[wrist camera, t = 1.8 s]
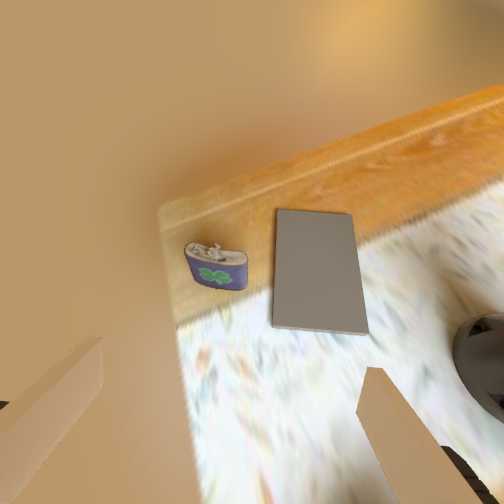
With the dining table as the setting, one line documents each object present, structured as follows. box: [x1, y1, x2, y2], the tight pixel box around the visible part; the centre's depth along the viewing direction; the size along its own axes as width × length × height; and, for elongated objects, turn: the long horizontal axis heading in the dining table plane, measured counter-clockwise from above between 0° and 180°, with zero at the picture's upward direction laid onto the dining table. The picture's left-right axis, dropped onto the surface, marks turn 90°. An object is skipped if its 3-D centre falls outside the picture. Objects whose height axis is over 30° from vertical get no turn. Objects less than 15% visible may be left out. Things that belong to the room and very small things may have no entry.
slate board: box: [272, 209, 369, 336], centre depth 44 cm, size 14×22×2 cm, turn 175°
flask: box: [184, 242, 248, 291], centre depth 38 cm, size 9×3×11 cm, turn 79°
